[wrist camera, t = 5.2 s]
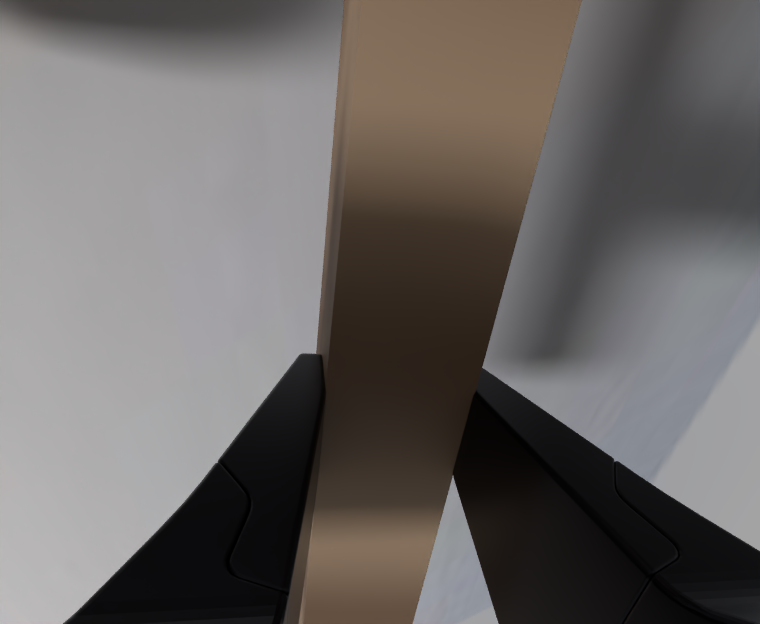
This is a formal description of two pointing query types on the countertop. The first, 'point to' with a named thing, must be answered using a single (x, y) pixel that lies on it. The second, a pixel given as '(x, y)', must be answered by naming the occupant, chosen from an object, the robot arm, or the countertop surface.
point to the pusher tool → (416, 272)
